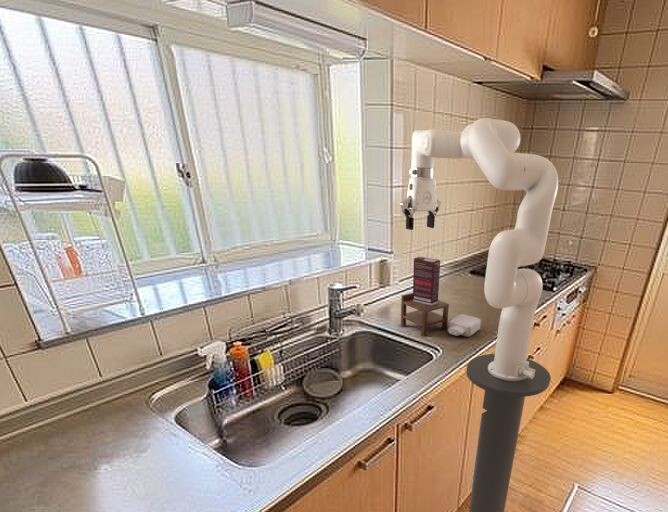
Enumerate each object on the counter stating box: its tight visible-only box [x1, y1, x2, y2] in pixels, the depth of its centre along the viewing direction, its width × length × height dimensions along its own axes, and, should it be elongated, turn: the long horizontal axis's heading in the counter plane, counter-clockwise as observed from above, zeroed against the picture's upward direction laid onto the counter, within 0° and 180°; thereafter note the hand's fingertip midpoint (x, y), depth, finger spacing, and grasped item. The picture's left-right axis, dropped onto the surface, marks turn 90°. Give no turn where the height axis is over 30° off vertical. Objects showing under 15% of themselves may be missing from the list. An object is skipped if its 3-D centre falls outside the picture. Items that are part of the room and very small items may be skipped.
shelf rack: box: [400, 292, 450, 337], centre depth 156 cm, size 13×12×12 cm
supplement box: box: [412, 256, 441, 306], centre depth 151 cm, size 9×5×16 cm, turn 59°
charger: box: [447, 313, 482, 338], centre depth 155 cm, size 5×9×15 cm
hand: (420, 228), depth 144 cm, fingers open, 9 cm apart
